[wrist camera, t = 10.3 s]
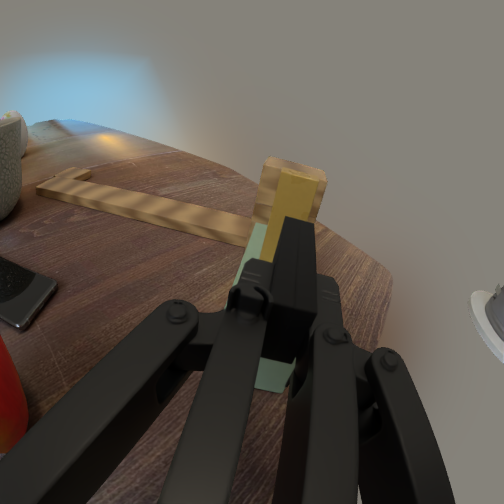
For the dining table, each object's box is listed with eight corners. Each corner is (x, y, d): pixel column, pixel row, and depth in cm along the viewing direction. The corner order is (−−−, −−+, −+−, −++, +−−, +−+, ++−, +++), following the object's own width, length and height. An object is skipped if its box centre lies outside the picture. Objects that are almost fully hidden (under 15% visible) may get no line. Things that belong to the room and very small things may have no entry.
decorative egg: (-12, 164, 49) (-14, 116, 41) (15, 152, 59) (15, 108, 51) (6, 166, 48) (4, 113, 40) (35, 154, 59) (35, 105, 51)
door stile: (294, 269, 35) (305, 234, 32) (282, 393, 20) (302, 358, 17) (248, 257, 35) (256, 222, 33) (207, 375, 20) (213, 337, 17)
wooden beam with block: (302, 224, 47) (322, 158, 41) (301, 270, 35) (331, 182, 29) (72, 173, 49) (72, 120, 43) (26, 197, 37) (21, 134, 31)
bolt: (294, 217, 35) (312, 153, 31) (290, 273, 25) (319, 181, 20) (272, 211, 36) (288, 146, 31) (257, 265, 25) (281, 171, 20)
